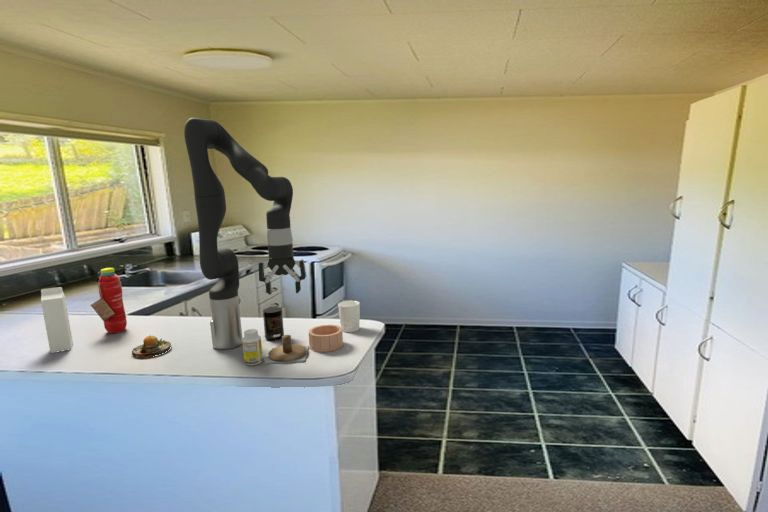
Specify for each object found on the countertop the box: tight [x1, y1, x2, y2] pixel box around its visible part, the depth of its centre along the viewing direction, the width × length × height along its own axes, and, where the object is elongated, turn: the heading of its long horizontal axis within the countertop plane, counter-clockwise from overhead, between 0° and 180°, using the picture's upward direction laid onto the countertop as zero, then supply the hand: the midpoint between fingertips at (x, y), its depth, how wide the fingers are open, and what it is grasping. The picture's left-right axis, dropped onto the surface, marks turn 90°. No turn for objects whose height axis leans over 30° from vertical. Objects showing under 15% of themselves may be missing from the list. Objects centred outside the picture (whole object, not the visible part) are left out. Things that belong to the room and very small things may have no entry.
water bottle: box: [90, 267, 128, 334], centre depth 170 cm, size 12×8×25 cm, turn 164°
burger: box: [131, 335, 172, 359], centre depth 150 cm, size 12×12×8 cm
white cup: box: [337, 299, 361, 333], centre depth 165 cm, size 8×8×10 cm
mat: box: [265, 345, 310, 365], centre depth 143 cm, size 12×12×1 cm
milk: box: [40, 286, 74, 354], centre depth 155 cm, size 6×6×22 cm
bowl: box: [308, 324, 344, 353], centre depth 150 cm, size 11×11×6 cm
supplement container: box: [262, 306, 285, 342], centre depth 159 cm, size 7×7×10 cm
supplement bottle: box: [242, 328, 264, 366], centre depth 138 cm, size 6×6×10 cm
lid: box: [267, 334, 308, 362], centre depth 143 cm, size 12×12×6 cm
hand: (283, 293), depth 141 cm, fingers open, 8 cm apart
